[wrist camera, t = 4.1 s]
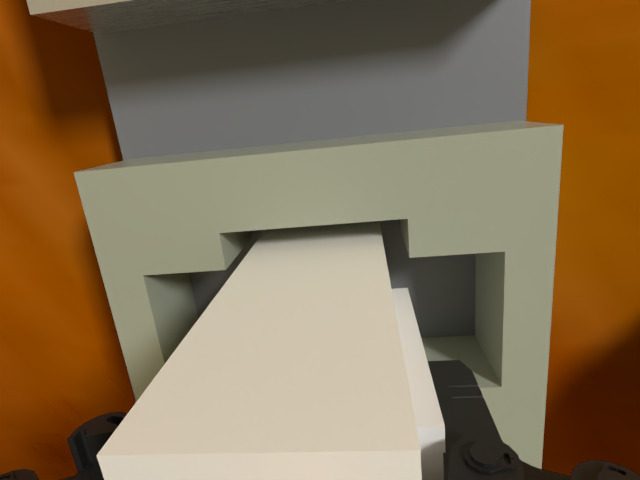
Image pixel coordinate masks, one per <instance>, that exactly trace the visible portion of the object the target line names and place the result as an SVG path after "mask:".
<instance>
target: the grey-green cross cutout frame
mask: <svg viewBox="0 0 640 480" xmlns="http://www.w3.org/2000/svg"><path fill="white" fill-rule="evenodd" d="M563 126H564V125H560V124H550V123H539V122H529V121H510V122H500V123H489V124H479V125H469V126H459V127H449V128H439V129H429V130H419V131H409V132H399V133H389V134H378V135H368V136H358V137H348V138H338V139H328V140H318V141H308V142H298V143H288V144H278V145H267V146H257V147H247V148H237V149H227V150H217V151H207V152H197V153H187V154H177V155H167V156H156V157H146V158H136V159H128V160H124V161H119V162H115V163H111V164H107V165H102V166H98V167H94V168H90V169H86V170H81V171H77V172H74V176H75V179H76V183H77V187H78V190H79V194H80V198H81V201H82V205H83V209H84V212H85V216H86V220H87V223H88V227H89V231H90V234H91V238H92V242H93V245H94V249H95V253H96V256H97V260H98V264H99V267H100V271H101V275H102V278H103V282H104V286H105V289H106V293H107V297H108V300H109V304H110V308H111V311H112V315H113V319H114V322H115V326H116V330H117V333H118V337H119V341H120V344H121V348H122V352H123V355H124V359H125V363H126V366H127V370H128V374H129V377H130V381H131V385H132V388H133V392H134V396H135V399H136V402H137V400H138V399H139V398H140V396H141V395H142V394H143V392H144V391H145V390H146V388H147V387H148V386H149V384H150V383H151V382H152V380H153V379H154V378H155V376H156V375H157V374H158V372H159V371H160V370H161V368H162V367H163V366H164V364H165V363H166V362H167V360H168V359H169V358H170V356H171V355H172V354H173V352H174V351H175V350H176V348H177V347H178V346H179V344H180V343H181V342H182V340H183V339H184V338H185V336H186V335H187V334H188V332H189V331H190V330H191V328H192V327H193V326H194V324H195V323H196V322H197V320H198V314H197V310H196V305H195V300H194V295H193V290H192V285H191V281H190V276H189V272H203V271H218V270H226V269H227V268H228V267H229V265H230V264H231V263H232V262H233V260H234V259H235V258H236V257H237V255H238V254H239V253H240V252H241V250H242V249H243V248H244V247H245V245H246V244H247V243H248V242H249V241H250V239H251V237H250V231H254V230H267V229H280V228H293V227H306V226H319V225H332V224H345V223H358V222H371V221H385V220H398V219H399V228H400V231H401V234H402V237H403V240H404V243H405V246H406V249H407V252H408V255H409V258H415V257H430V256H445V255H460V254H475V253H476V282H475V335H472V336H450V337H428V338H421V339H422V343H423V347H424V350H425V354H426V358H427V361H443V360H460V361H461V362H463V363H464V364H465V365H466V366H467V367H468V368H470V369H471V370H472V371H473V374H474V376H475V378H476V381H477V383H478V387H479V388H480V390H481V392H482V395H483V398H484V399H485V402H486V404H487V406H488V409H489V411H490V413H491V416H492V418H493V421H494V423H495V425H496V428H497V430H498V432H499V435H500V437H501V439H502V441H503V443H505V444H507V445H509V446H510V447H511V448H512V449H513V450H514V451H515V452H516V453H517V454H518V456H519V459H520V460H522V461H523V462H525V463H527V464H529V465H531V466H533V467H536V468H540V469H542V455H543V439H544V424H545V408H546V392H547V377H548V361H549V345H550V330H551V314H552V299H553V283H554V267H555V252H556V236H557V220H558V205H559V189H560V173H561V158H562V142H563Z"/></svg>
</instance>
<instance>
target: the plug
mask: <svg viewBox="0 0 640 480" xmlns="http://www.w3.org/2000/svg"><path fill="white" fill-rule="evenodd" d="M96 456H97V459H98V462H99V465H100V468H101V471H102V475H103V478H104V480H422V473H421V450H420V444H419V439H418V433H417V428H416V422H415V416H414V411H413V405H412V400H411V394H410V389H409V383H408V378H407V372H406V366H405V361H404V355H403V350H402V344H401V339H400V333H399V328H398V322H397V316H396V311H395V305H394V300H393V294H392V289H391V283H390V278H389V272H388V267H387V261H386V255H385V250H384V244H383V239H382V233H381V228H380V222H379V221H371V222H358V223H345V224H332V225H319V226H306V227H293V228H280V229H267V230H265V231H264V232H263V233H262V235H261V236H260V237H259V239H258V240H257V241H256V243H255V244H254V245H253V247H252V248H251V249H250V251H249V252H248V253H247V255H246V256H245V257H244V259H243V260H242V261H241V263H240V264H239V265H238V267H237V268H236V269H235V271H234V272H233V273H232V275H231V276H230V277H229V279H228V280H227V281H226V283H225V284H224V285H223V287H222V288H221V289H220V291H219V292H218V293H217V295H216V296H215V297H214V299H213V300H212V301H211V303H210V304H209V306H208V307H207V308H206V310H205V311H204V312H203V314H202V315H201V316H200V318H199V319H198V320H197V322H196V323H195V324H194V326H193V327H192V328H191V330H190V331H189V332H188V334H187V335H186V336H185V338H184V339H183V340H182V342H181V343H180V344H179V346H178V347H177V348H176V350H175V351H174V352H173V354H172V355H171V356H170V358H169V359H168V360H167V362H166V363H165V364H164V366H163V367H162V368H161V370H160V371H159V372H158V374H157V375H156V376H155V378H154V379H153V380H152V382H151V383H150V384H149V386H148V387H147V388H146V390H145V391H144V392H143V394H142V395H141V396H140V398H139V399H138V400H137V402H136V403H135V404H134V406H133V407H132V408H131V410H130V411H129V412H128V414H127V415H126V416H125V418H124V419H123V420H122V422H121V423H120V424H119V426H118V427H117V428H116V430H115V431H114V432H113V434H112V435H111V436H110V438H109V439H108V440H107V442H106V443H105V445H104V446H103V447H102V449H101V450H100V451H99V453H98V454H97V455H96Z"/></svg>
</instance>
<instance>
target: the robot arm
mask: <svg viewBox="0 0 640 480" xmlns="http://www.w3.org/2000/svg"><path fill="white" fill-rule="evenodd" d="M392 294H393V300H394V305H395V311H396V316H397V322H398V328H399V333H400V339H401V344H402V350H403V355H404V361H405V366H406V372H407V378H408V383H409V389H410V394H411V400H412V405H413V411H414V416H415V422H416V428H417V433H418V439H419V444H420V450H421V473H422V480H640V475H638V474H636V473H635V472H633V471H631V470H630V469H628V468H626V467H623V466H620V465H617V464H615V463H612V462H607V461H598V460H592V461H587V462H581V463H580V464H579V465H577V466H576V467H575V468H574V469H573V471H572V475H571V476H567V475H563V474H559V473H554V472H550V471H546V470H543V469H540V468H536V467H533V466H531V465H529V464H527V463H525V462H523V461H522V460H520V459H519V456H518V454H517V453H516V452H515V451H514V450H513V449H512V448H511V447H510V446H509V445H507V444H505V443H503V441H502V439H501V437H500V435H499V432H498V430H497V428H496V425H495V423H494V421H493V418H492V416H491V413H490V411H489V409H488V406H487V404H486V402H485V399H484V398H483V395H482V392H481V390H480V388H479V387H478V383H477V381H476V378H475V376H474V374H473V371H472V370H471V369H470V368H468V367H467V366H466V365H465V364H464V363H463V362H461V361H460V360H443V361H427V358H426V354H425V350H424V347H423V343H422V339H421V335H420V332H419V328H418V324H417V321H416V317H415V313H414V309H413V306H412V302H411V298H410V295H409V291H408V288H395V289H392ZM126 415H127V414H126V413H123V412H115V413H108V414H104V415H101V416H98V417H96V418H94V419H92V420H90V421H88V422H86V423H84V424H83V425H82V426H80V427H79V428H78V429H76V430H75V431H74V432H73V433H72V434H71V436H70V437H69V438H68V439H67V441H68V443H69V446H70V449H71V452H72V455H73V458H74V461H75V464H76V467H77V470H78V472H77V474H76V475H75V476H72V477H68V478H65V479H61V480H104V478H103V475H102V471H101V468H100V465H99V462H98V459H97V456H96V455H97V454H98V453H99V451H100V450H101V449H102V447H103V446H104V445H105V443H106V442H107V440H108V439H109V438H110V436H111V435H112V434H113V432H114V431H115V430H116V428H117V427H118V426H119V424H120V423H121V422H122V420H123V419H124V418H125V416H126ZM0 480H39V479H38V476H37V475H36V474H35V472H34V471H32V470H27V469H21V470H15V471H11V472H8V473H5V474H3V475H0Z"/></svg>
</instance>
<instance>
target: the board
mask: <svg viewBox="0 0 640 480" xmlns="http://www.w3.org/2000/svg"><path fill="white" fill-rule="evenodd" d="M530 10H531V0H347V1H340V2H332V3H325V4H318V5H310V6H303V7H295V8H288V9H281V10H273V11H266V12H258V13H251V14H244V15H236V16H229V17H222V18H214V19H207V20H199V21H192V22H185V23H177V24H170V25H162V26H155V27H148V28H140V29H133V30H125V31H118V32H111V33H103V34H98V33H94V32H93V34H94V39H95V43H96V47H97V51H98V56H99V60H100V64H101V68H102V73H103V77H104V81H105V85H106V89H107V94H108V98H109V102H110V106H111V111H112V115H113V119H114V123H115V128H116V132H117V136H118V140H119V144H120V149H121V153H122V157H123V161H124V160H128V159H136V158H146V157H156V156H167V155H177V154H187V153H197V152H207V151H217V150H227V149H237V148H247V147H257V146H267V145H278V144H288V143H298V142H308V141H318V140H328V139H338V138H348V137H358V136H368V135H378V134H389V133H399V132H409V131H419V130H429V129H439V128H449V127H459V126H469V125H479V124H489V123H500V122H510V121H526V113H527V87H528V62H529V36H530ZM379 222H380V228H381V233H382V239H383V244H384V250H385V255H386V261H387V267H388V272H389V278H390V283H391V289H395V288H408V291H409V295H410V298H411V302H412V306H413V309H414V313H415V317H416V321H417V324H418V328H419V332H420V335H421V338H428V337H450V336H472V335H475V282H476V253H475V254H460V255H445V256H430V257H415V258H409V255H408V252H407V249H406V246H405V243H404V240H403V237H402V234H401V231H400V228H399V219H398V220H385V221H379ZM264 231H265V230H254V231H250V237H251V239H250V241H249V242H248V243H247V244H246V245H245V247H244V248H243V249H242V250H241V252H240V253H239V254H238V255H237V257H236V258H235V259H234V260H233V262H232V263H231V264H230V265H229V267H228V268H227V269H226V270H218V271H203V272H189V276H190V281H191V285H192V290H193V295H194V300H195V305H196V310H197V314H198V319H199V318H200V316H201V315H202V314H203V312H204V311H205V310H206V308H207V307H208V306H209V304H210V303H211V301H212V300H213V299H214V297H215V296H216V295H217V293H218V292H219V291H220V289H221V288H222V287H223V285H224V284H225V283H226V281H227V280H228V279H229V277H230V276H231V275H232V273H233V272H234V271H235V269H236V268H237V267H238V265H239V264H240V263H241V261H242V260H243V259H244V257H245V256H246V255H247V253H248V252H249V251H250V249H251V248H252V247H253V245H254V244H255V243H256V241H257V240H258V239H259V237H260V236H261V235H262V233H263V232H264Z"/></svg>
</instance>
